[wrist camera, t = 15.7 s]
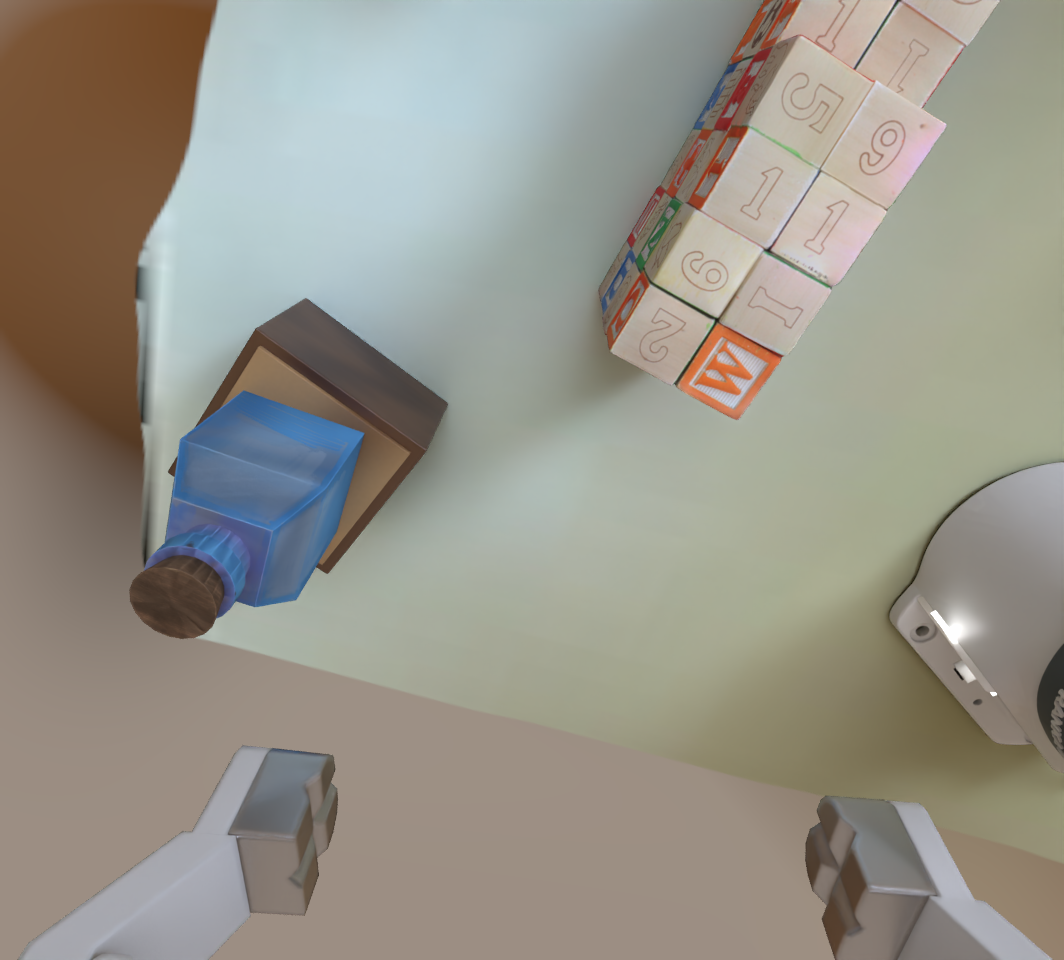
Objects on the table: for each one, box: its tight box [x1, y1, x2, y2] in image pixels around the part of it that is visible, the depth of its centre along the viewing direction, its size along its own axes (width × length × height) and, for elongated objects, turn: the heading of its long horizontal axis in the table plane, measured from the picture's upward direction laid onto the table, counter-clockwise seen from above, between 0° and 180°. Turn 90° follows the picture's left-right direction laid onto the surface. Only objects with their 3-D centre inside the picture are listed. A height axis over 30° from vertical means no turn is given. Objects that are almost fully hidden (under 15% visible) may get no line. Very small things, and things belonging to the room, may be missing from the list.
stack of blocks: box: [599, 0, 1000, 420], centre depth 29 cm, size 21×6×12 cm, turn 152°
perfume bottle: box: [130, 390, 365, 639], centre depth 31 cm, size 6×6×12 cm
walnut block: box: [168, 298, 448, 574], centre depth 39 cm, size 10×10×7 cm
